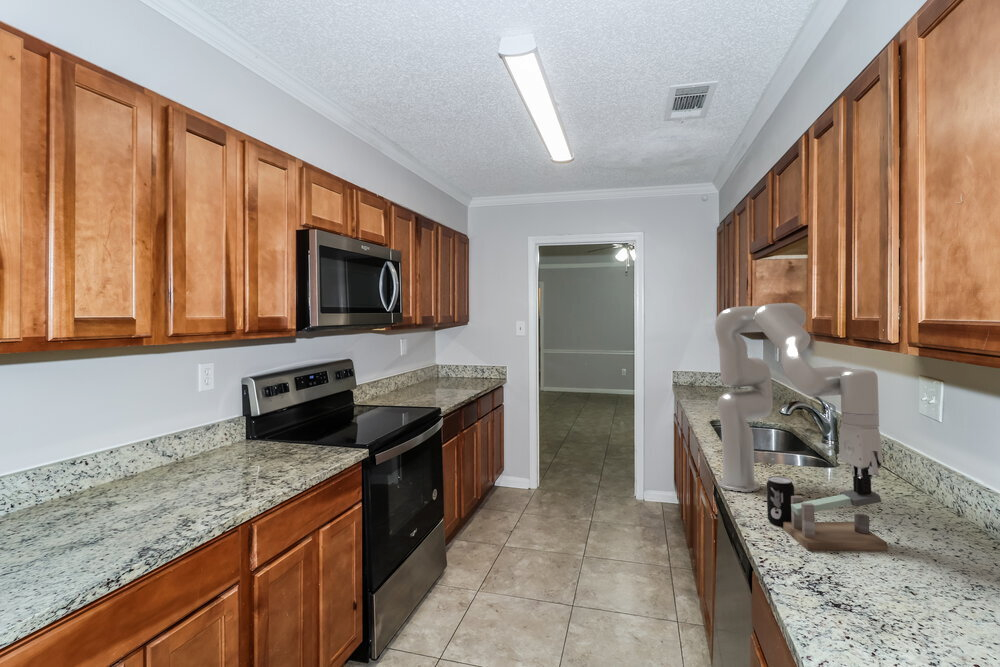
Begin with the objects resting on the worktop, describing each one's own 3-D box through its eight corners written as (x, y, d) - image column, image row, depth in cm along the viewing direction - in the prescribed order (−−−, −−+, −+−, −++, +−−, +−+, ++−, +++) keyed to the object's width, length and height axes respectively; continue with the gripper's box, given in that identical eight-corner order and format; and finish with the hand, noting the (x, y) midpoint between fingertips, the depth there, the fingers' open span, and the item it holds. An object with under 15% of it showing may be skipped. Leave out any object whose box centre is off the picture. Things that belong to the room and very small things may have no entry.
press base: (783, 529, 130) (782, 492, 130) (855, 529, 128) (854, 491, 128) (807, 550, 118) (806, 509, 118) (887, 550, 116) (886, 509, 116)
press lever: (789, 508, 127) (787, 502, 127) (865, 493, 125) (863, 487, 125) (801, 517, 121) (799, 511, 121) (881, 501, 119) (879, 495, 119)
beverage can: (799, 528, 131) (797, 483, 130) (772, 527, 132) (770, 482, 132) (789, 518, 137) (788, 475, 137) (764, 517, 138) (763, 475, 138)
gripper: (826, 414, 130) (829, 483, 130) (863, 426, 115) (866, 504, 115) (856, 413, 129) (859, 483, 129) (897, 425, 114) (900, 503, 114)
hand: (862, 492), depth 122 cm, fingers closed
